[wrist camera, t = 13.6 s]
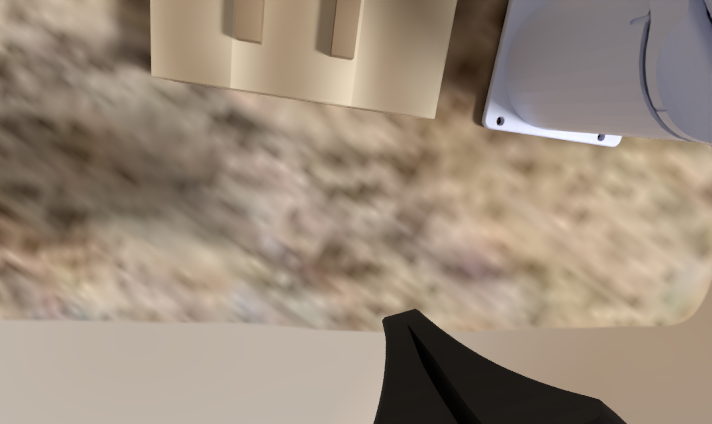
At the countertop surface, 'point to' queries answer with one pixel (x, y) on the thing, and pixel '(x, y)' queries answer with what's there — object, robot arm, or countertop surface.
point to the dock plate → (309, 49)
